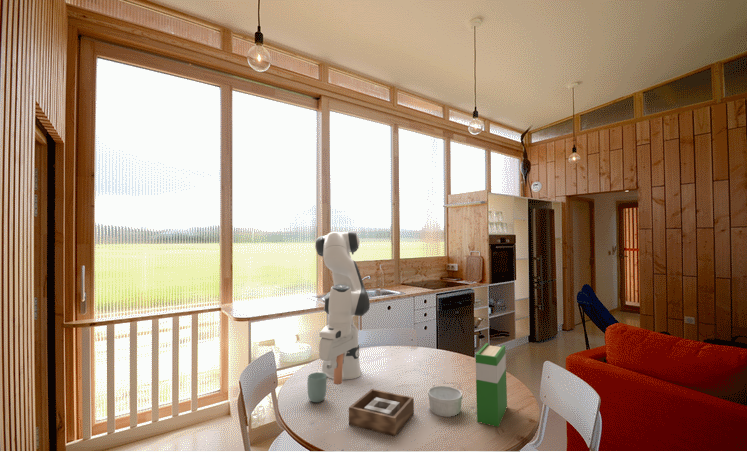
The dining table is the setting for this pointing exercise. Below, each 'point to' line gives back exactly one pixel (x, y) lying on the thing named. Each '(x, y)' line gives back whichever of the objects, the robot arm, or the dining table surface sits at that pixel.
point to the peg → (338, 370)
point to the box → (381, 412)
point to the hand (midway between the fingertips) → (338, 365)
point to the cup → (317, 386)
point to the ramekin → (445, 400)
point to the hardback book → (491, 384)
